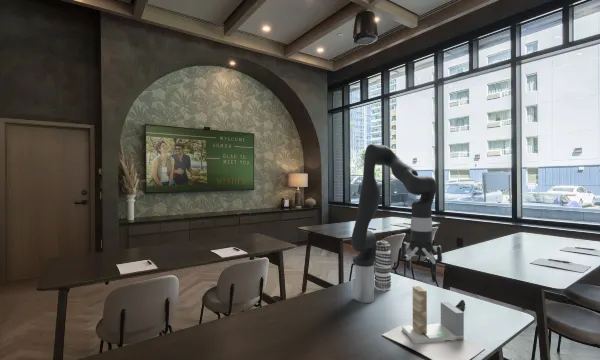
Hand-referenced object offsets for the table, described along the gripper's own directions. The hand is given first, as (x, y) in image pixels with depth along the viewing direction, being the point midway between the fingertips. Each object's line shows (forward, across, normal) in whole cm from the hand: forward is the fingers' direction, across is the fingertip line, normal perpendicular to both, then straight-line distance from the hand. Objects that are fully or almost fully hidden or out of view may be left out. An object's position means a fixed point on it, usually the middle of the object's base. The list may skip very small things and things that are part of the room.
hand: (421, 271), depth 121 cm
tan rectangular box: (+22, -1, +3) cm, 22 cm away
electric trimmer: (+24, -10, -30) cm, 40 cm away
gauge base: (+24, -4, -2) cm, 24 cm away
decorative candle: (+24, +27, -41) cm, 55 cm away
